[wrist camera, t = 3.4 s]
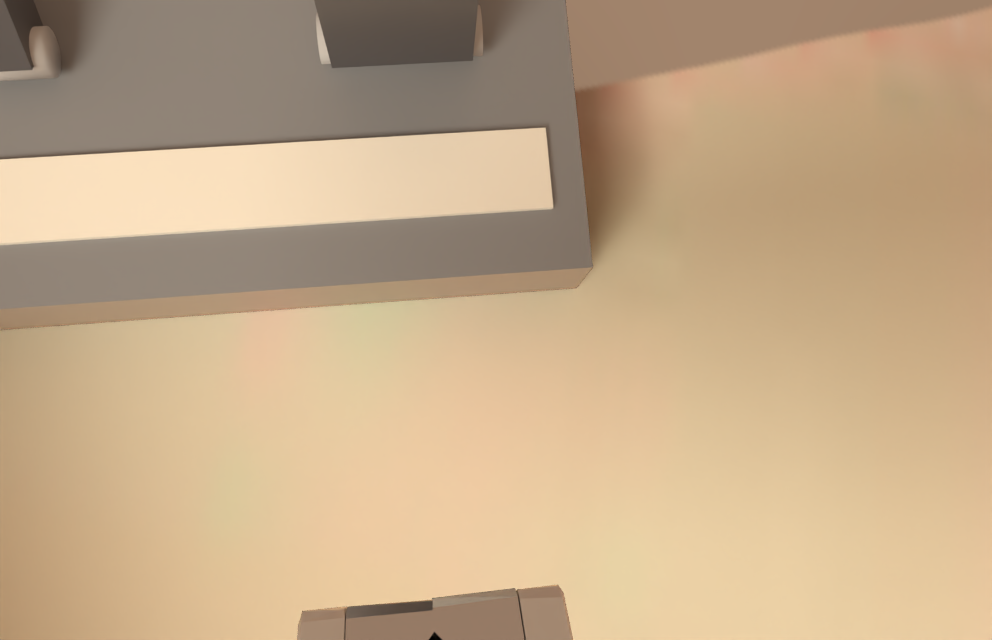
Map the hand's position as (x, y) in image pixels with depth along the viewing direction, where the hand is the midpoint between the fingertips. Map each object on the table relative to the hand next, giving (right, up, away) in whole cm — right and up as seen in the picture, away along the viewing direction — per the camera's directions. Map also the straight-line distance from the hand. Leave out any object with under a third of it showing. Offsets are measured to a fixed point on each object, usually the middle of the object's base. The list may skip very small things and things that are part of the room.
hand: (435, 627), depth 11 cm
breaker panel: (-8, +12, +19) cm, 24 cm away
